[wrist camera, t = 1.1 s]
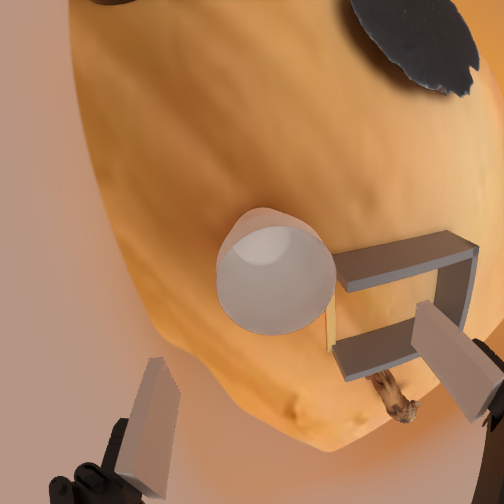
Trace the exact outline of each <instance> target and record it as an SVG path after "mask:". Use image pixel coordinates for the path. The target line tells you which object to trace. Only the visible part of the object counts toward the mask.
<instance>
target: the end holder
mask: <svg viewBox="0 0 504 504" xmlns="http://www.w3.org/2000/svg"><path fill="white" fill-rule="evenodd" d="M478 253H479V246H478V245H476V244H474V243H472V242H470V241H468V240H466V239H464V238H462V237H460V236H458V235H456V234H454V233H452V232H449V231H442V232H438V233H433V234H429V235H425V236H420V237H416V238H411V239H407V240H402V241H397V242H393V243H388V244H384V245H379V246H374V247H369V248H365V249H360V250H355V251H350V252H346V253H341V254H336V255H332V257H333V260H334V263H335V267H336V278H337V280H338V281H339V282H340V284H341V285H342V286H343V288H344V289H345V290H346V292H347V293H350V292H354V291H358V290H362V289H366V288H370V287H374V286H378V285H382V284H386V283H389V282H393V281H397V280H400V279H404V278H407V277H411V276H414V275H418V274H421V273H425V272H428V271H431V270H435V269H438V268H439V270H438V279H437V287H436V294H435V301H434V306H435V307H437V308H438V309H439V310H440V311H441V312H442V313H443V314H444V315H445V316H446V317H448V318H449V319H450V320H451V321H452V322H453V323H454V324H455V325H456V326H457V327H458V328H459V329H460V330H461V331H463V328H464V325H465V321H466V317H467V313H468V309H469V304H470V300H471V295H472V290H473V285H474V280H475V274H476V267H477V261H478ZM325 319H326V343H327V352H332V353H333V355H334V357H335V360H336V362H337V364H338V366H339V368H340V371H341V373H342V375H343V377H344V380H345V382H349V381H352V380H356V379H359V378H362V377H365V376H369V375H372V374H375V373H378V372H381V371H383V370H386V369H389V368H392V367H395V366H397V365H400V364H403V363H405V362H408V361H410V360H413V359H416V358H418V357H420V355H419V353H418V352H417V351H416V350H415V348H414V347H413V346H412V345H411V339H412V334H413V328H414V322H415V318H412V319H409V320H406V321H403V322H400V323H397V324H394V325H391V326H388V327H385V328H381V329H378V330H375V331H372V332H368V333H365V334H361V335H358V336H354V337H351V338H347V339H343V340H339V341H336V323H335V294H333V296H332V299H331V301H330V303H329V304H328V306H327V307H326V309H325Z"/></svg>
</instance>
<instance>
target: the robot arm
mask: <svg viewBox="0 0 504 504" xmlns="http://www.w3.org/2000/svg"><path fill="white" fill-rule="evenodd" d="M92 1H94V2H96V3H99V4H105V5H113V4H121V3H126V2H130V1H133V0H92ZM411 345H412V346H413V347H414V348H415V350H416V351H417V352H418V353H419V355H420V356H421V357H422V358H423V360H424V361H425V362H426V364H427V365H428V366H429V367H430V369H431V370H432V371H433V373H434V374H435V375H436V376H437V378H438V379H439V380H440V382H441V383H442V384H443V385H444V387H445V388H446V390H447V391H448V392H449V394H450V395H451V396H452V398H453V399H454V401H455V402H456V403H457V405H458V406H459V407H460V409H461V410H462V411H463V413H464V414H465V416H466V418H467V419H468V420H469V422H470V423H471V424H472V423H474V422H475V421H477V420H478V419H480V418H481V417H482V416H483V415H484V413H485V412H486V410H487V409H488V410H489V411H490V413H489V415H488V416H487V418H486V419H485V421H484V422H483V425H482V427H484V426H485V424H486V423H487V421H488V423H487V432H486V440H485V447H484V453H483V458H482V463H481V468H480V473H479V477H478V481H477V485H476V489H475V493H474V496H473V500H472V503H471V504H504V362H503V361H502V360H501V359H500V358H499V357H498V356H497V355H495V353H494V352H493V351H492V350H490V348H489V347H488V346H487V345H486V344H485V343H484V342H482V341H480V340H478V339H476V338H475V339H473V340H471V339H470V338H469V337H468V336H467V335H466V334H465V333H464V332H463V331H461V330H460V329H459V328H458V327H457V326H456V325H455V324H454V323H453V322H452V321H451V320H450V319H449V318H448V317H446V316H445V315H444V314H443V313H442V312H441V311H440V310H439V309H438V308H437V307H435V306H434V305H433V304H432V303H431V302H430V301H429V300H426V301H423V302H420V303H417V308H416V315H415V322H414V328H413V334H412V339H411ZM180 397H181V392H180V390H179V388H178V387H177V385H176V383H175V381H174V379H173V377H172V375H171V373H170V371H169V369H168V366H167V364H166V362H165V360H164V358H163V357H160V358H149V361H148V364H147V367H146V370H145V372H144V375H143V378H142V381H141V384H140V387H139V390H138V393H137V396H136V399H135V402H134V405H133V408H132V411H131V414H130V418H129V419H128V418H127V419H126V418H120V419H119V420H118V422H117V423H116V424H115V425H114V427H113V430H112V433H111V438H110V439H109V442H108V443H109V445H108V446H107V448H106V452H105V455H104V458H103V461H102V465H101V468H100V467H99V466H98V465H96V464H94V463H91V462H86V463H83V464H81V465H80V466H78V467H77V469H76V470H75V473H74V480H75V482H71V481H70V480H69V479H68V478H66V477H63V476H57V477H55V478H54V479H53V480H51V482H50V484H49V496H50V504H145V503H144V502H143V501H142V500H141V498H142V494H144V495H145V496H146V497H148V498H152V499H161V500H165V498H166V489H167V481H168V474H169V467H170V466H169V465H170V459H171V452H172V445H173V439H174V432H175V427H176V419H177V414H178V408H179V402H180Z"/></svg>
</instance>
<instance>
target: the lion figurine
mask: <svg viewBox="0 0 504 504" xmlns="http://www.w3.org/2000/svg"><path fill="white" fill-rule="evenodd" d="M384 372H385V376H384V375H383V373H382V372H378V374H379V375H380V377H381V379H382V381H383V383H384V384H383V383H381V382H379V381H377V380H376V379H375V376H374V375H369V376H366V379H367V380H370V379H371V381H372V382H373V385H374V387H375V389H376V390H377V391H378V393H379V395H380V396H381V398H382V400H383V403H384V404H385V407H386V410H387V413H388V414H389V415H390V416H391V417H393V418H394V419H395V420H397V421H400V422H401V423H404V424H405V423H410V422H413V421H414V420H415V419H416V415H415V414H416V412H417V409H418V407H419V405H420V403H419V402H418V401H414V400H411V401H410V402H409V400H407V399H406V397H404V395H402V393H401V392H400V390H399V388H398V387H397V385H396V383H395V379H394V377H393V375H392V374H391V372H390V371H389V370H388V369H386V370H384ZM385 377H386V378H385Z"/></svg>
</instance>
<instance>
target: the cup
mask: <svg viewBox="0 0 504 504" xmlns="http://www.w3.org/2000/svg"><path fill="white" fill-rule="evenodd" d="M335 286H336V267H335V263H334V260H333V257H332V255H331V253H330V252H329V250H328V248H327V247H326V246H325V244H324V243H323V242H322V240H321V238H320V237H319V235H318V234H317V233H316V232H315V231H314V230H313V229H312V228H311V227H310V226H309V225H308V224H306V223H305V222H303V221H302V220H300V219H298V218H296V217H293V216H290V215H288V214H285V213H282V212H280V211H277V210H274V209H271V208H264V207H261V208H255V209H252V210H249V211H247V212H246V213H244V214H243V215H242V216H241V217H240V218H239V219H238V220H237V222H236V223H235V225H234V226H233V228H232V229H231V231H230V232H229V234H228V235H227V237H226V238H225V240H224V242H223V243H222V246H221V248H220V250H219V253H218V257H217V262H216V289H217V295H218V299H219V302H220V304H221V306H222V308H223V310H224V312H225V313H226V314H227V316H228V317H229V318H230V319H231V320H232V321H233V322H235V323H236V324H237V325H239V326H240V327H242V328H244V329H246V330H248V331H251V332H253V333H257V334H262V335H282V334H287V333H291V332H294V331H297V330H299V329H302V328H304V327H305V326H307V325H309V324H310V323H312V322H313V321H314V320H315V319H317V318H318V317H319V316H320V315H321V314H322V313H323V311H324V310H325V309H326V307H327V306H328V304H329V303H330V301H331V299H332V296H333V294H334V291H335Z"/></svg>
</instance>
